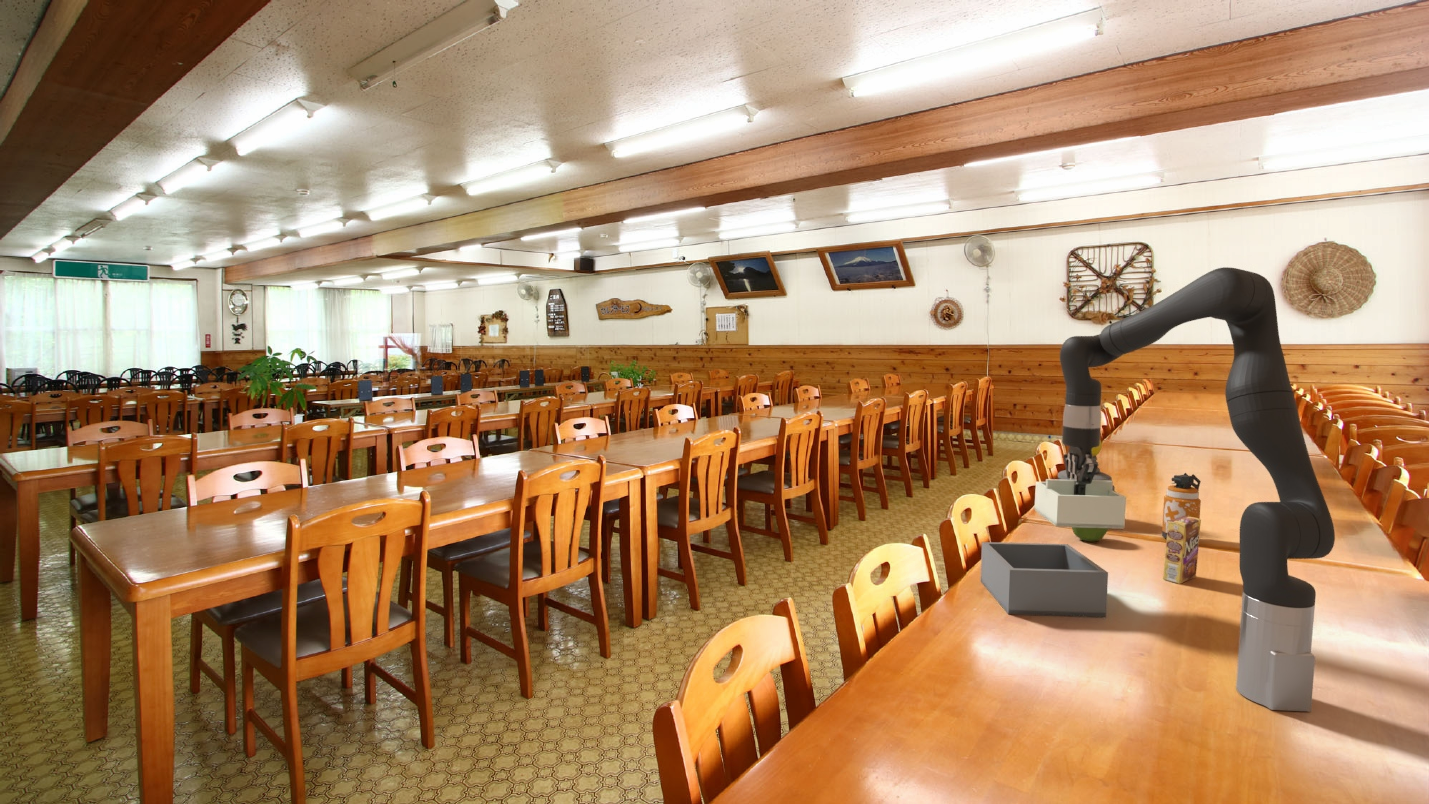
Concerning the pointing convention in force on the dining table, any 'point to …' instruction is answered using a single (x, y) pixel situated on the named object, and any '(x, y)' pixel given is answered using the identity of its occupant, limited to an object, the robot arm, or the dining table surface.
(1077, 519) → the small crate
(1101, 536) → the apple
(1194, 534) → the candy box
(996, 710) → the dining table surface
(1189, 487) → the canister
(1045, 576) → the big crate
